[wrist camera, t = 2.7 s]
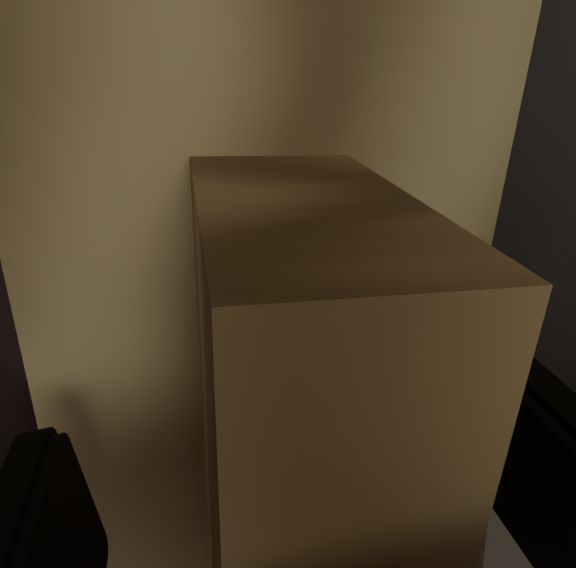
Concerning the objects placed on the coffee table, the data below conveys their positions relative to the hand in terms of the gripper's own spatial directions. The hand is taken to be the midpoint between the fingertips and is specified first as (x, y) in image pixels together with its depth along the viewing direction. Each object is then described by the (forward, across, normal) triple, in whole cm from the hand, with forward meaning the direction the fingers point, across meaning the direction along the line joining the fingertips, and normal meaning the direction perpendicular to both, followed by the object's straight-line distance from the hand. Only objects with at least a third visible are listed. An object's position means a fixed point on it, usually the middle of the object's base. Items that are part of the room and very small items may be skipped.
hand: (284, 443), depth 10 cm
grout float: (+3, 0, 0) cm, 3 cm away
